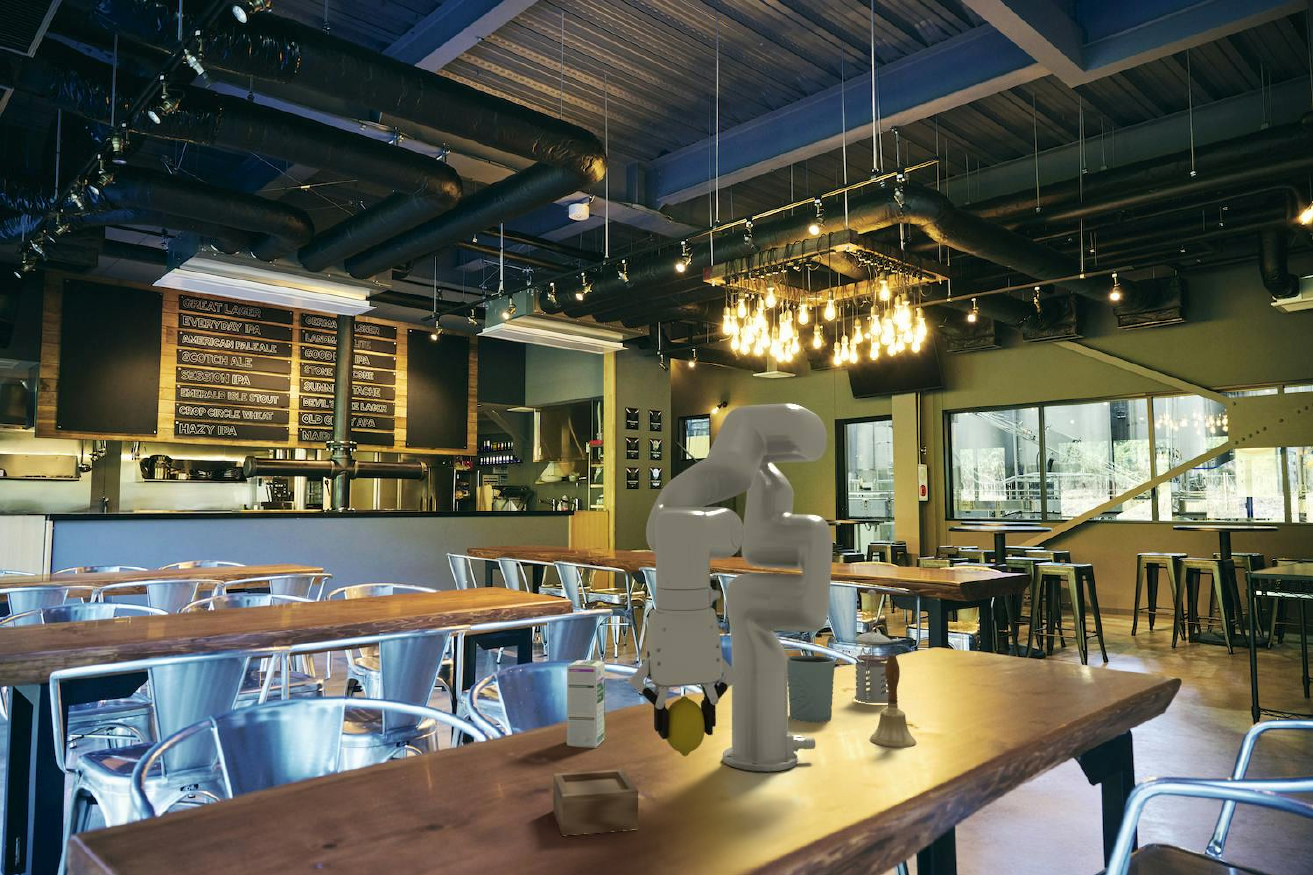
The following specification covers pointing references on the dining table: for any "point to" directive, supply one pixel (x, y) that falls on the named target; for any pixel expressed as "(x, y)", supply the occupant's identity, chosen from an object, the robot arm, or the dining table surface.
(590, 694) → the syrup box
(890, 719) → the hand bell
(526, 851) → the dining table surface
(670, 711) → the lemon
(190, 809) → the dining table surface
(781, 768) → the robot arm
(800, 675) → the grey teal cup
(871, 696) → the french press
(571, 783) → the brown wooden tray
